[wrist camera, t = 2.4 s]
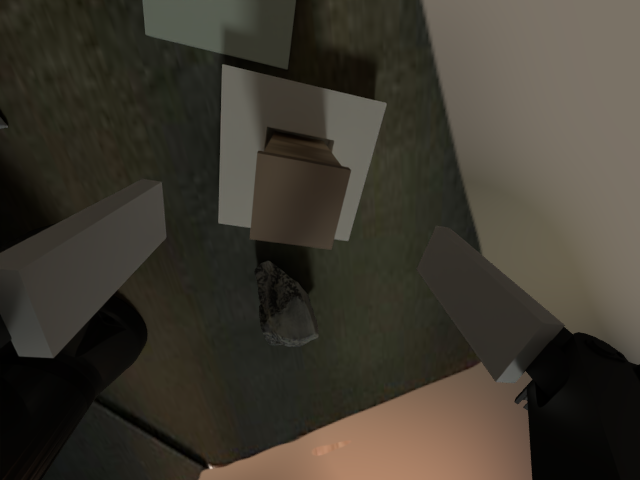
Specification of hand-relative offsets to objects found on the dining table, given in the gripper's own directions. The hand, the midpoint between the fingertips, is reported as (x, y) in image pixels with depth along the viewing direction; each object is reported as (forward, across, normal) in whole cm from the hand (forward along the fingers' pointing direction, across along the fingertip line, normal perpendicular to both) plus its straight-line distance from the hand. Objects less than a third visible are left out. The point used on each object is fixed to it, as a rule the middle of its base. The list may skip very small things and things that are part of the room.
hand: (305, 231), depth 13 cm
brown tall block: (+17, 0, 0) cm, 17 cm away
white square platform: (+18, 0, 0) cm, 18 cm away
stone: (+18, +1, -18) cm, 26 cm away
